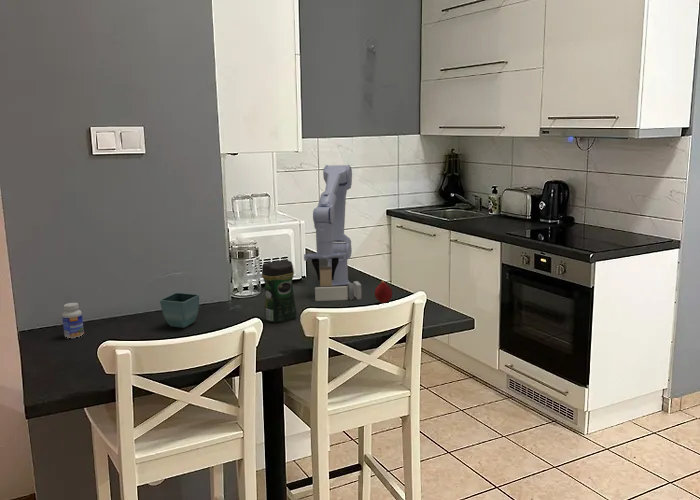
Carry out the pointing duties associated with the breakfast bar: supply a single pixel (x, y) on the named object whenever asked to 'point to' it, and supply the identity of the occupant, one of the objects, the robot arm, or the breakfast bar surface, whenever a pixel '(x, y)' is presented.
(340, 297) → the grey rectangular bar
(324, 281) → the rubber block
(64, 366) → the breakfast bar surface
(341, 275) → the robot arm
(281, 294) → the coffee jar
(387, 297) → the onion
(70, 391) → the breakfast bar surface
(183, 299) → the flower pot
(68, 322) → the pill bottle
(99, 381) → the breakfast bar surface
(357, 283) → the grey boxy piece
